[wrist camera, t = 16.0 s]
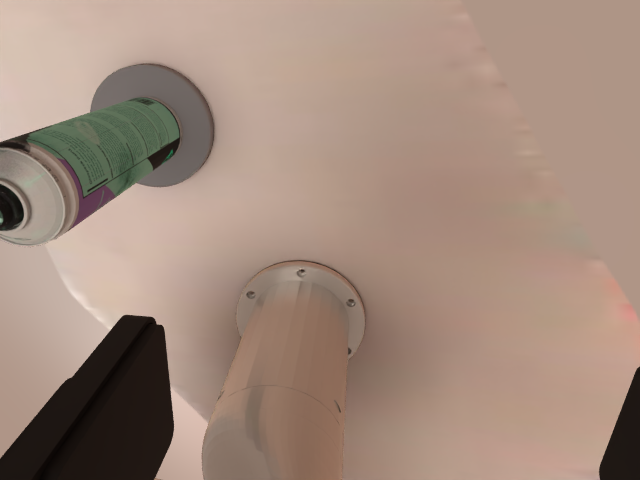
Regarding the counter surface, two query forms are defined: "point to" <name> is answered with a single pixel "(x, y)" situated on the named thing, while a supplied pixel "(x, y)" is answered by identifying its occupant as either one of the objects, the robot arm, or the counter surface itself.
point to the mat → (180, 99)
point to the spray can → (80, 166)
